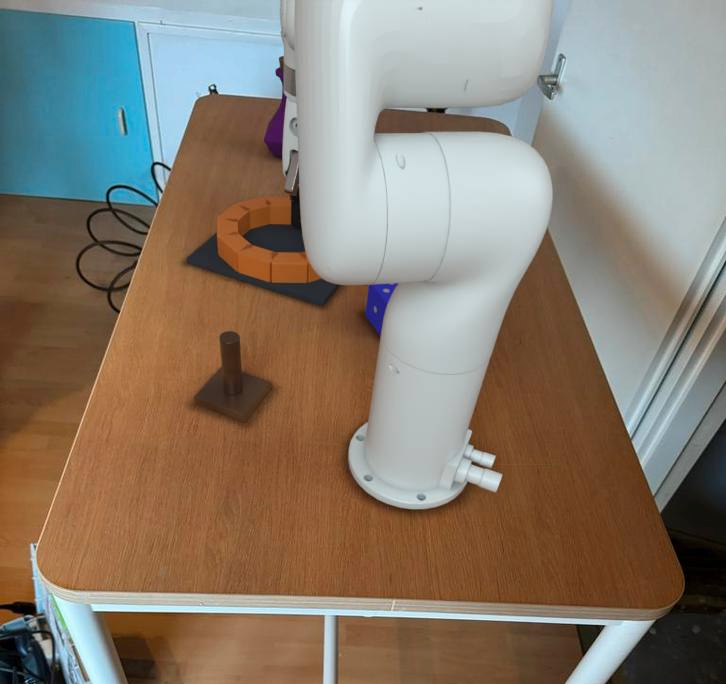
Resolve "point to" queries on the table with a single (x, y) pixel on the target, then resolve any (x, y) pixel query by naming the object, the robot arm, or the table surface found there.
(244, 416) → the stand
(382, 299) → the die
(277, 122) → the perfume bottle
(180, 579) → the table surface
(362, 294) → the table surface
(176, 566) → the table surface
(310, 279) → the ring
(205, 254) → the mat
